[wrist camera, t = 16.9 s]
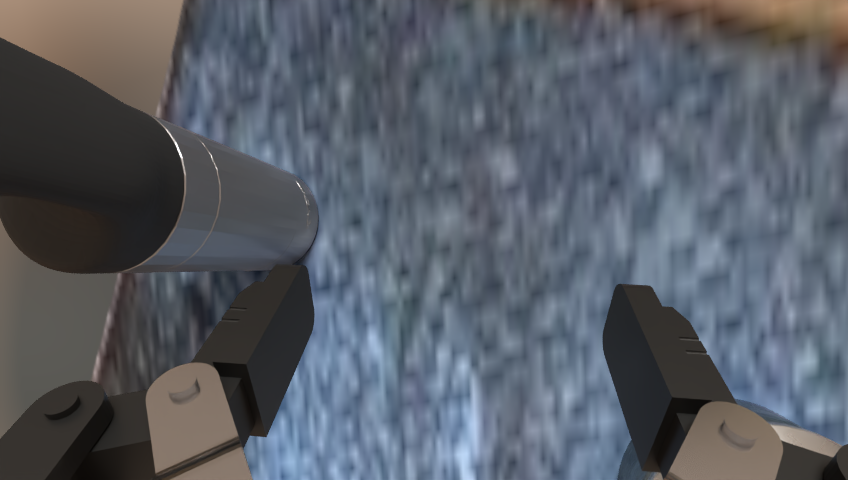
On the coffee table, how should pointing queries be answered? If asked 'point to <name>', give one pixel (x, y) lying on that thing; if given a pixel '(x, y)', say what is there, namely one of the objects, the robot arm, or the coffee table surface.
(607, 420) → the coffee table surface
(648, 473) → the biscuit tin
